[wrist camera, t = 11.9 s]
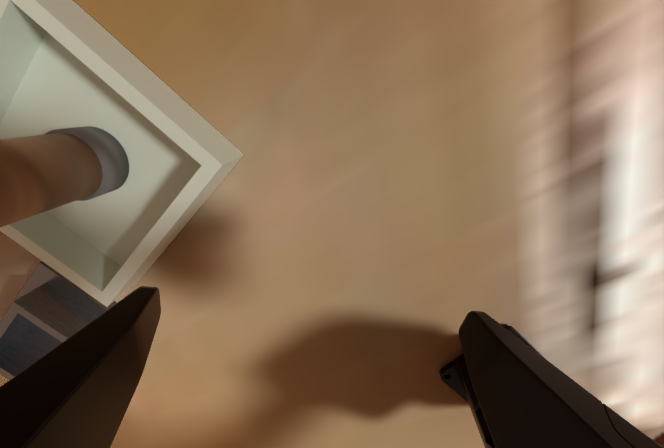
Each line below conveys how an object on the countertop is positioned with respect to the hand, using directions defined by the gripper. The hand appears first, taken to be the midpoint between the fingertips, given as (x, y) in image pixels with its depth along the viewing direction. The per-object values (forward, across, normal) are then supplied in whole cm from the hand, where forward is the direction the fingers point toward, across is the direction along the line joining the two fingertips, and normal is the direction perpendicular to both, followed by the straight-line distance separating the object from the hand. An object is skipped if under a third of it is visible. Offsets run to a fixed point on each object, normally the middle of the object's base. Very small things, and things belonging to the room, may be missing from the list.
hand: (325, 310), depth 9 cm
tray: (+15, +12, +3) cm, 20 cm away
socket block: (+13, +16, +17) cm, 27 cm away
